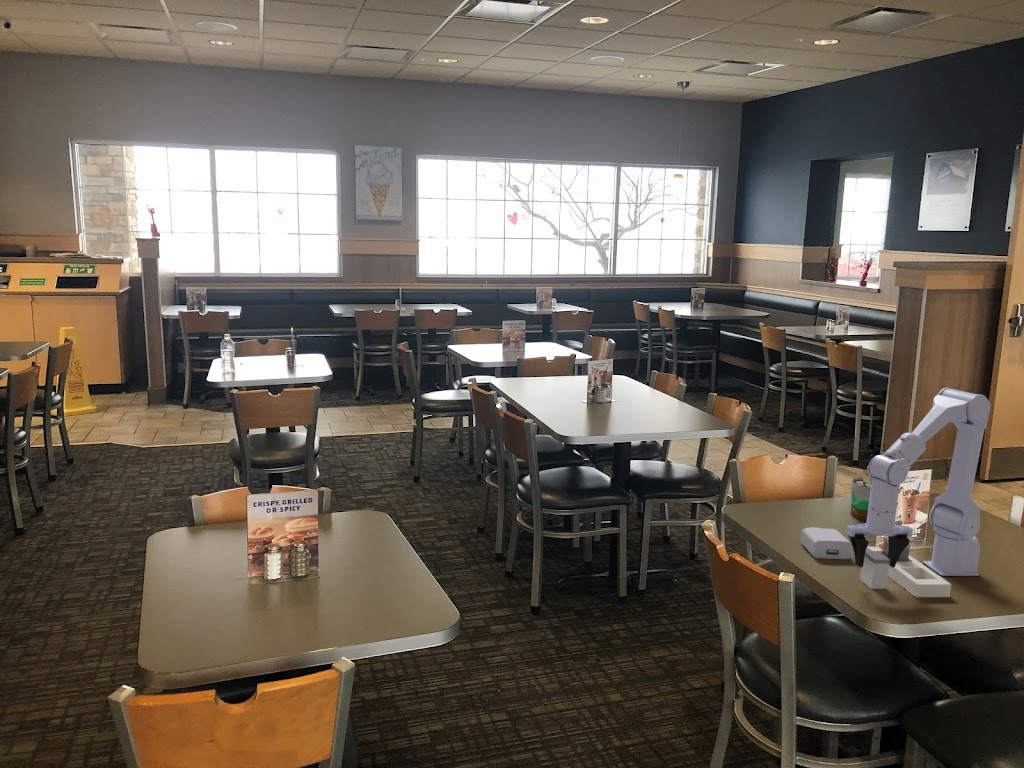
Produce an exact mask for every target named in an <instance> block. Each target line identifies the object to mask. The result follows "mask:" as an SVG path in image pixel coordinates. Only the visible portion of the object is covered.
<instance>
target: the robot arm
mask: <svg viewBox="0 0 1024 768" xmlns="http://www.w3.org/2000/svg"><path fill="white" fill-rule="evenodd" d="M991 406H992V404H991V402H990V400H989V399H988V398H987V397H986V395H984V394H980V393H979V394H978V393H977V394H976V393H973V392H972V393H971V392H968V391H963V390H958V389H954V388H952V387H951V388H950V387H944V388H942V389H940V390H939V391H938V393H937V395H935V396H934V397H933V401H932V408H931V409H930V410H929V411H928V413H927V414H926V415H925V416H924V417H923V419H922V420H921V421H920V422H919V424H917V426H916V427H915V428H914V429H913V430H912V432H904V433H903V434H901V436H900V437H899V438H898V439H896V441H895V442H894V443H893V444H892V445H891V446H890V447H888V449H887V450H886V451H884V453H882V454H878V455H874V457H872V458H871V459H870V461H869V463H868V466H867V467H866V472H867V475H868V477H869V479H868V481H869V482H868V484H870V485H871V491H870V499H869V508H868V516H867V522H865V523H860V524H852V525H851V524H850V525H847V526H846V532H845V533H846V535H847V536H848V538H849V539H848V540H849V542H850V543H851V544H852V551H853V554H854V555H853V556H854V561H855V562H854V563H855V565H856V566H857V567H858V568H861V567H863V564H864V557H865V552H866V549H867V547H869V543H870V542H869V541H868V540H867V539H866V536H870V537H871V536H872V537H873V536H874V537H875V536H877V537H879V536H881V537H882V536H884V537H888V541H889V550H888V558H889V559H890V564H889V566H891V567H895V565H896V563H897V561H898V559H899V557H900V555H901V553H902V552H903V550H904V549H905V548H906V547H907V546H908V545H909V544H910V542H911V539H910V538H912V537H913V531H914V529H913V528H912V527H910V526H908V525H898V524H895V522H896V517H897V516H896V515H897V507H898V501H899V500H898V499H899V494H900V485H901V484H903V483H904V482H905V481H906V480H907V477H908V474H909V472H910V470H911V469H912V464H914V463H915V462H916V461H917V460H918V458H920V456H921V455H922V454H924V453H925V451H926V449H927V447H926V442H928V441H929V440H930V439H932V437H934V436H935V435H936V434H937V433H939V432H940V431H941V430H942V429H943V428H944V427H945V426H947V424H950V423H952V424H954V426H955V427H956V428H957V433H956V438H955V443H954V449H953V454H952V459H951V463H950V468H949V475H948V480H947V485H946V489H945V493H942V494H940V495H938V496H936V497H935V498H934V503H933V505H932V507H931V509H930V511H929V515H928V516H929V517H928V520H929V523H930V525H931V526H932V530H933V531H934V533H935V534H934V541H933V549H932V555H931V560H923V562H922V564H923V565H925V566H926V567H927V568H929V569H930V570H932V571H933V572H935V573H936V574H938V575H939V576H941V577H942V576H945V577H946V576H947V577H948V576H949V577H950V576H951V577H952V576H953V577H954V576H956V577H960V576H964V577H966V576H967V577H968V576H969V577H970V576H972V577H975V576H979V575H980V573H979V572H978V569H979V568H978V567H979V560H980V554H981V544H980V541H979V539H978V537H976V536H977V534H978V533H979V531H980V528H981V518H980V517H981V516H980V515H981V507H980V506H979V504H977V503H976V501H975V499H973V498H972V494H973V488H974V483H975V478H976V473H977V468H978V463H979V458H980V454H981V448H982V444H983V443H982V442H983V439H984V432H985V430H986V429H987V426H988V421H989V417H990V411H991Z"/></svg>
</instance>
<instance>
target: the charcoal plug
mask: <svg viewBox="0 0 1024 768" xmlns="http://www.w3.org/2000/svg"><path fill="white" fill-rule="evenodd" d="M882 544H883V552H882V554H883V555H885V556H886V557H887V558H888V550H889V541H888V536H884V539H883V543H882ZM910 548H911V544H910V543H909V545H908V546H907V547H906V548H905V549H904V550H903V552H902V553H901V555H900V557H899V559H898V561H897V562H908V557H909V555H910Z"/></svg>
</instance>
